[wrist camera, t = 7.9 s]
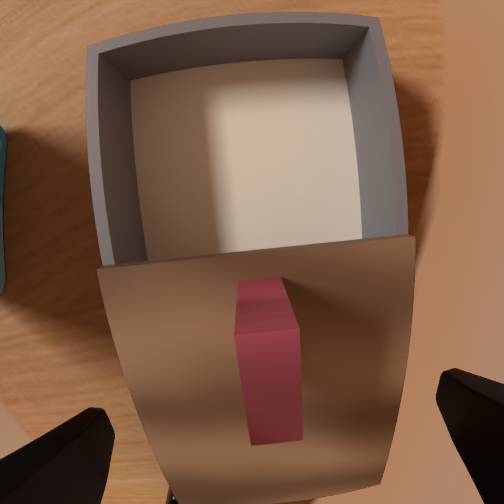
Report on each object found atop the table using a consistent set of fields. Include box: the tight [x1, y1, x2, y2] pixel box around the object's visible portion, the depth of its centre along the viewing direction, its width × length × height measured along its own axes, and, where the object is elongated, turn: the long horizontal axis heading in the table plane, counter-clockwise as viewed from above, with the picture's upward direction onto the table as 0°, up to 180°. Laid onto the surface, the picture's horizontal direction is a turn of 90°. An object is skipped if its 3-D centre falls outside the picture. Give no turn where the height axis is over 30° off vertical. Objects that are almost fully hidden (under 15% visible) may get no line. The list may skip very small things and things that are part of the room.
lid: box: [96, 234, 415, 504], centre depth 12 cm, size 16×13×5 cm
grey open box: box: [86, 12, 408, 266], centre depth 15 cm, size 16×13×5 cm
